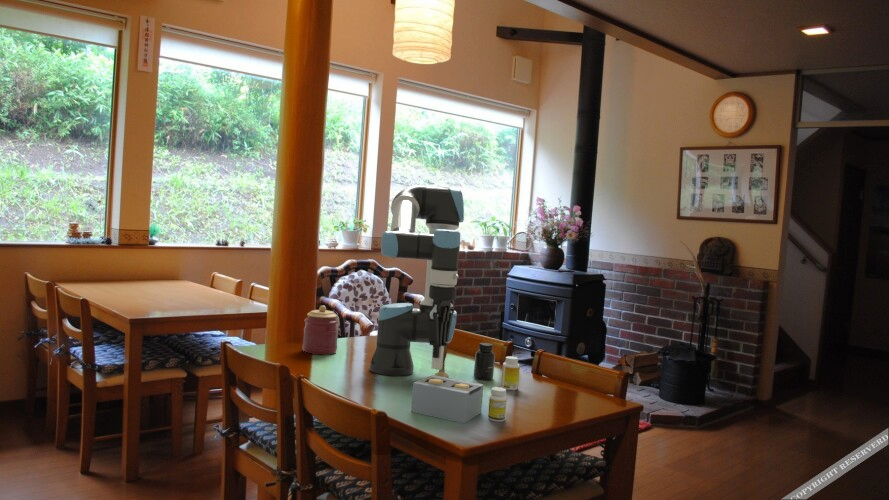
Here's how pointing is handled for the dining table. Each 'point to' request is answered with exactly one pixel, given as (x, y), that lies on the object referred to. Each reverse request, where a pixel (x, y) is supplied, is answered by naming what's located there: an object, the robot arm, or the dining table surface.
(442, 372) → the hand bell
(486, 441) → the dining table surface
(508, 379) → the supplement bottle
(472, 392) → the socket block
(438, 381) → the peg
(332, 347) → the canister
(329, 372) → the dining table surface
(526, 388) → the dining table surface
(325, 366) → the dining table surface
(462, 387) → the peg
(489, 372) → the supplement bottle
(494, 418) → the supplement bottle
